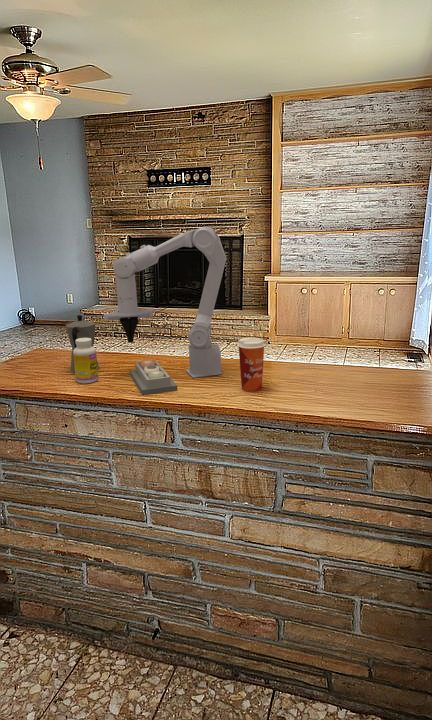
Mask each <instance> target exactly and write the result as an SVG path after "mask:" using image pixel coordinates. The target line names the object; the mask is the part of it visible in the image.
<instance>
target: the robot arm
mask: <svg viewBox="0 0 432 720" xmlns="http://www.w3.org/2000/svg"><path fill="white" fill-rule="evenodd" d="M183 247H186V248H193V247H196V249H198V250H199V251H200V252H201V253H202V254H204V256H205V257H206V259H207V261H208V263H209V264H208V269H207V274H206V277H205V281H204V286H203V290H202V293H201V296H200V297H201V298H200V300H199V301H200V303H199V306H198V310H197V313H196V317H195V320H194V323H193V324H192V326H191V328H190V331H189V333H188V338H187V339H188V342H189V343H188V357H189V358H188V359H189V368H188V369H185V372H186V373H188V375H189V376H190V377H191V378H193V379H195V378H204V377H210V376H211V377H212V376H218V375H219V376H220V375H222V374H223V371H222V354H221V347H220V346H219V345H218V343H213V342H212V341H211V340H210V339H211V338H210V337H211V335H212V328H211V323H212V317H213V314H214V311H215V306H216V302H217V298H218V295H219V290H220V285H221V282H222V278H223V273H224V269H225V266H226V262H227V256H226V253H225V250H224V247H223V245H222V241H221V238H220V236H219V235H218V234H217V232H216V231H215V229H214V228H212V227H210V226H208V225H207V226H201V227H199V228H195V229H192V230H188V231H186V232H182V233H180V234H178V235H176V236H174V237H172V238H170V239H168V240H167V241H165V242H162V243H160V244H158V245H156V246H153V245H150V244H147V245H146V244H143V245H141V246H139V249H137V250H135V251H132V252H127V253H125V255H126V256H121V257H119V258H118V259H116V260H115V261H114V262H113V266H112V269H113V272H114V274H115V279H116V283H115V285H116V296H117V306H118V307H117V309H118V311H116V312H115V311H114V312H109V313H108V312H107V313H103V320H104V322H108V321H117V320H118V321H119V322H120V325H121V326H122V328H123V330H124V332H125V335H126V339H127V342H128V343H130V344H131V343H134V337H135V333H136V330H137V328H138V324H139V321H140V320H139V318H153V317H154V314H153V313H154V312H153V310H152V309H141V310H140V309H139V308H138V296H137V283H136V276H135V273H136V272H141V271H144V270H145V269H148V268H149V267H152V266H153V265H155V264H158V262H159V259H160V257H163V256H165V255H167V254H169V253H171V252H174V251H176V250H178V249H180V248H183Z"/></svg>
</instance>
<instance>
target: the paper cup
mask: <svg viewBox="0 0 432 720" xmlns="http://www.w3.org/2000/svg"><path fill="white" fill-rule="evenodd" d="M237 347H238V355H239V368H240V369H239V371H240V382H241V383H240V384H241V390H243V391H244V392H251V393H252V392H254V393H255V392H259V391H261V390H262V389H263V375H264V372H263V371H264V359H265V358H264V357H265V356H264V355H265V354H264V353H265V347H266V343H265V341H264V339H263V338H260V337H252V336H251V337H244V338H243V337H242V338H241V339H239V340H238V343H237Z"/></svg>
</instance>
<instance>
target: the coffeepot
mask: <svg viewBox="0 0 432 720" xmlns="http://www.w3.org/2000/svg"><path fill="white" fill-rule="evenodd" d="M76 317H77V320H76V321H73V322H70V323H68V324H65V328H66V333H67V337H68V339H69V343H70V346H71V350H72V351H71V355H70V356H71V357H70V359H71V360H70V371H71V372H72V373H73V374H75V365H74V356H73V350H74V349H75V348H76V347H77V345H76V342H75V340H76V339H79V338H91V339H92V344H91V346H93V347H94V345H95V339H96V336H95V335H96V323H95V322H94V321H88V320H82V319H83V314H82V315H81V314H78V315H76ZM97 368H98V370H100V366H99V363H98V361H97Z"/></svg>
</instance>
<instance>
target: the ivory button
mask: <svg viewBox="0 0 432 720" xmlns="http://www.w3.org/2000/svg"><path fill="white" fill-rule="evenodd" d="M152 371H159V366H155V365H151V366H146V367H144V372H145V373H148V372H152Z"/></svg>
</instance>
